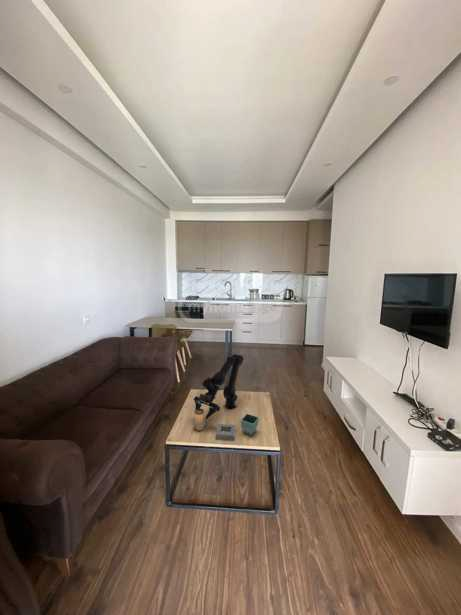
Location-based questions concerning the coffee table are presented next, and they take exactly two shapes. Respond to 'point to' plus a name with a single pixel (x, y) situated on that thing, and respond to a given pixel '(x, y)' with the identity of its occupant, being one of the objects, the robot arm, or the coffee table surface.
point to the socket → (225, 436)
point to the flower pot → (249, 423)
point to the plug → (199, 419)
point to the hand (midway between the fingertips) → (200, 416)
